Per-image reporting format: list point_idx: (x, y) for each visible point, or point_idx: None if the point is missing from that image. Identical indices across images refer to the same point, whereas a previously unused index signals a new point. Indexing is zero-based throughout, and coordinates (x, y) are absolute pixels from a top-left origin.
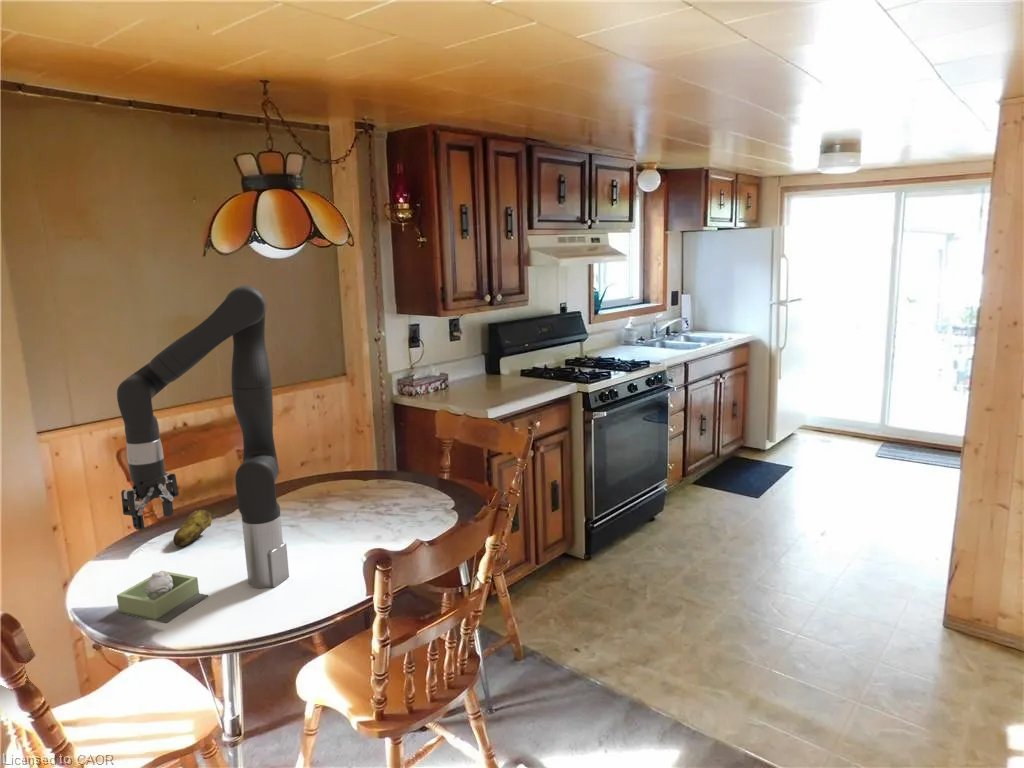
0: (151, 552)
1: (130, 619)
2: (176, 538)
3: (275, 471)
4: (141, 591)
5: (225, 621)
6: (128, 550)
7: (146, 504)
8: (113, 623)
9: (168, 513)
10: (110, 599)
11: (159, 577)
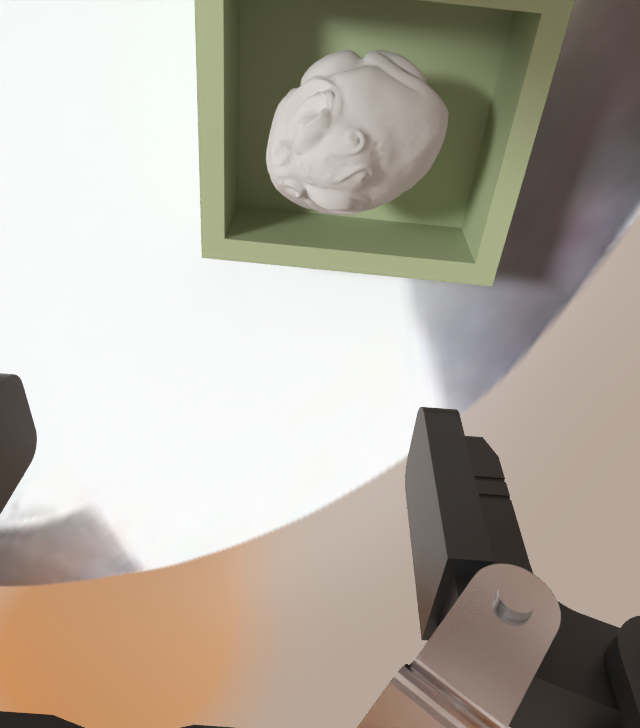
0: None
1: None
2: None
3: None
4: (364, 236)
5: None
6: (42, 540)
7: (408, 696)
8: (564, 200)
9: (3, 416)
10: (370, 359)
11: (368, 134)
